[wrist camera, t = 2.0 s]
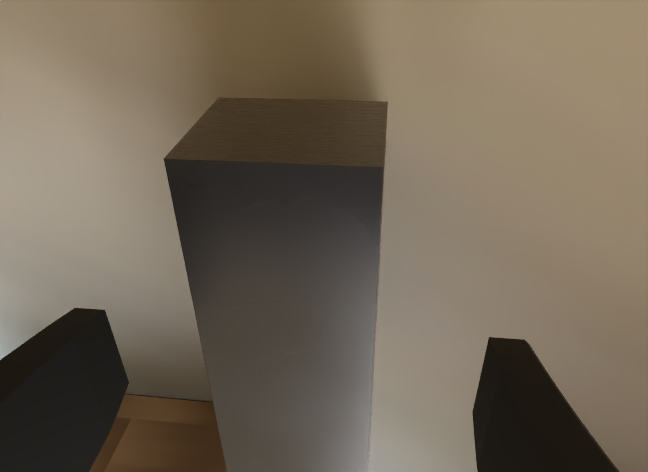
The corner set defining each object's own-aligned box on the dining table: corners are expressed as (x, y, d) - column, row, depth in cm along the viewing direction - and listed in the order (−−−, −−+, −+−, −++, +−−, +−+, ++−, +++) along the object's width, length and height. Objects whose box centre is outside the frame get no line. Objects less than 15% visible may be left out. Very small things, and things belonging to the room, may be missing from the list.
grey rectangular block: (390, 54, 12) (384, 167, 7) (374, 344, 16) (364, 529, 12) (259, 52, 12) (163, 158, 7) (282, 337, 17) (235, 514, 12)
